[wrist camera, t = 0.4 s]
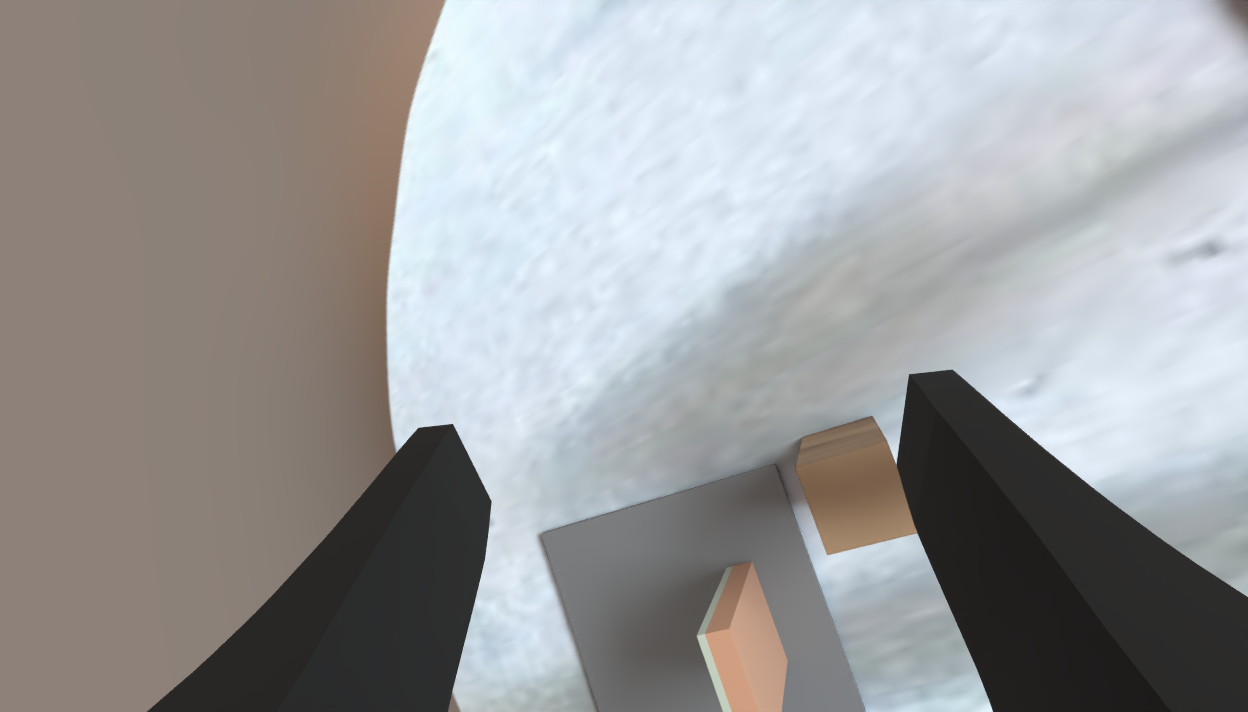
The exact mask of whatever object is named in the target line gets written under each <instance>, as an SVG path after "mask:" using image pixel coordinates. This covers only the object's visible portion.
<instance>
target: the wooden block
mask: <svg viewBox="0 0 1248 712" xmlns="http://www.w3.org/2000/svg"><path fill="white" fill-rule="evenodd" d="M795 469H796V472H797V474H798V477H799V480H800V483H801V485H802V488H803V491H804V493H805V496H806V499H807V502H808V504H809V507H810V510H811V512H812V515H813V518H814V521H815V523H816V526H817V529H818V531H819V534H820V537H821V540H822V542H823V545H824V548H825V550H826V553H827V555H830V554H834V553H838V552H843V551H847V550H851V549H855V548H859V547H863V546H867V545H871V544H875V543H879V542H883V541H887V540H892V539H896V538H900V537H904V536H908V535H912V534H916V533H917V531H916V528H915V526H914V523H913V519H912V516H911V513H910V510H909V506H908V503H907V500H906V497H905V493H904V490H903V486H902V483H901V479H900V476H899V472H898V469H897V466H896V463H895V460H894V458H893V455H892V453H891V450H890V447H889V445H888V442H887V440H886V438H885V437H884V435H883V433H882V431H881V430H880V428H879V426H878V425H877V423H876V421H875V420H874V418H873V416H870V417H867V418H864V419H860V420H857V421H854V422H851V423H847V424H844V425H841V426H838V427H834V428H831V429H828V430H825V431H821V432H818V433H815V434H811V435H808V436H805V437H803V438H802V442H801V446H800V450H799V454H798V458H797V462H796V466H795Z"/></svg>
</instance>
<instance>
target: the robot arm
mask: <svg viewBox="0 0 1248 712" xmlns="http://www.w3.org/2000/svg"><path fill="white" fill-rule="evenodd" d="M897 469H898V472H899V476H900V479H901V483H902V486H903V490H904V493H905V497H906V500H907V503H908V506H909V510H910V513H911V516H912V519H913V523H914V526H915V528H916V531H917V533H918V535H919V538H920V540H921V542H922V545H923V547H924V549H925V552H926V554H927V556H928V559H929V561H930V563H931V566H932V568H933V570H934V572H935V575H936V577H937V579H938V582H939V584H940V586H941V588H942V591H943V593H944V595H945V598H946V600H947V602H948V604H949V607H950V609H951V611H952V613H953V616H954V618H955V620H956V623H957V625H958V627H959V629H960V632H961V634H962V636H963V638H964V641H965V643H966V645H967V648H968V650H969V652H970V654H971V657H972V659H973V661H974V663H975V666H976V668H977V670H978V673H979V676H980V678H981V681H982V683H983V686H984V688H985V691H986V693H987V696H988V698H989V701H990V704H991V707H992V710H993V712H1248V597H1247V596H1245V595H1244V594H1242V593H1241V592H1239V591H1237V590H1236V589H1234V588H1233V587H1231V586H1230V585H1228V584H1227V583H1225V582H1224V581H1222V580H1221V579H1219V578H1218V577H1216V576H1215V575H1213V574H1211V573H1210V572H1208V571H1207V570H1205V569H1204V568H1202V567H1201V566H1199V565H1198V564H1196V563H1195V562H1193V561H1192V560H1190V559H1189V558H1187V557H1186V556H1185V555H1183V554H1182V553H1180V552H1179V551H1177V550H1176V549H1174V548H1173V547H1172V546H1170V545H1169V544H1167V543H1166V542H1164V541H1163V540H1162V539H1160V538H1159V537H1157V536H1156V535H1155V534H1153V533H1152V532H1151V531H1149V530H1148V529H1147V528H1145V527H1144V526H1143V525H1141V524H1140V523H1139V522H1137V521H1136V520H1134V519H1133V518H1132V517H1130V516H1129V515H1128V514H1126V513H1125V512H1124V511H1122V510H1121V509H1120V508H1118V507H1117V506H1116V505H1114V504H1113V503H1112V502H1110V501H1109V500H1108V499H1107V498H1105V497H1104V496H1103V495H1101V494H1100V493H1099V492H1097V491H1096V490H1095V489H1094V488H1092V487H1091V486H1090V485H1088V484H1087V483H1086V482H1085V481H1084V480H1082V479H1081V478H1080V477H1079V476H1077V475H1076V474H1075V473H1074V472H1072V471H1071V470H1070V469H1069V468H1067V467H1066V466H1065V465H1064V464H1062V463H1061V462H1060V461H1059V460H1058V459H1056V458H1055V457H1054V456H1053V455H1051V454H1050V453H1049V452H1048V451H1046V450H1045V449H1044V448H1043V447H1042V446H1040V445H1039V444H1038V443H1037V442H1036V441H1034V440H1033V439H1032V438H1031V437H1030V436H1029V435H1027V434H1026V433H1025V432H1024V431H1023V430H1022V429H1020V428H1019V427H1018V426H1017V425H1016V424H1015V423H1013V422H1012V421H1011V420H1010V419H1009V418H1008V417H1006V416H1005V415H1004V414H1003V413H1002V412H1001V411H1000V410H998V409H997V408H996V407H995V406H994V405H993V404H992V403H990V402H989V401H988V400H987V399H986V398H985V397H984V396H982V395H981V394H980V393H979V392H978V391H977V390H976V389H974V388H973V387H972V386H971V385H970V384H969V383H968V382H966V381H965V380H964V379H963V378H962V377H961V376H959V375H958V374H957V373H956V372H955V371H953V370H945V371H936V372H927V373H917V374H909V379H908V386H907V393H906V400H905V407H904V415H903V422H902V429H901V436H900V443H899V451H898V458H897ZM491 502H492V501H491V499H490V497H489V495H488V493H487V491H486V489H485V487H484V485H483V483H482V481H481V479H480V477H479V475H478V473H477V471H476V469H475V467H474V465H473V463H472V461H471V459H470V457H469V455H468V453H467V451H466V449H465V447H464V445H463V443H462V441H461V439H460V437H459V435H458V433H457V431H456V429H455V427H454V425H453V424H449V425H440V426H431V427H422V428H418V429H417V430H416V431H415V432H414V434H413V435H412V436H411V437H410V438H409V439H408V440H407V442H406V443H405V444H404V445H403V446H402V447H401V449H400V450H399V451H398V452H397V453H396V455H395V456H394V457H393V458H392V460H391V461H390V462H389V463H388V464H387V465H386V467H385V468H384V469H383V470H382V471H381V473H380V474H379V475H378V476H377V478H376V479H375V480H374V481H373V482H372V484H371V485H370V486H369V487H368V488H367V490H366V491H365V492H364V493H363V494H362V496H361V497H360V498H359V499H358V500H357V501H356V503H355V504H354V505H353V506H352V507H351V509H350V510H349V511H348V512H347V513H346V514H345V515H344V517H343V518H342V519H341V520H340V521H339V523H338V524H337V525H336V526H335V527H334V529H333V530H332V531H331V532H330V533H329V534H328V535H327V537H326V538H325V539H324V540H323V541H322V542H321V543H320V544H319V545H318V546H317V548H316V549H315V550H314V551H313V552H312V553H311V554H310V555H309V556H308V557H307V558H306V559H305V561H304V562H303V563H302V564H301V565H300V566H299V567H298V568H297V569H296V570H295V571H294V573H293V574H292V575H291V576H290V577H289V578H288V579H287V580H286V581H285V582H284V583H283V585H282V586H281V587H280V588H279V589H278V590H277V591H276V592H275V593H274V594H273V595H272V596H271V598H269V599H268V600H267V602H266V603H265V604H264V605H263V606H262V607H261V608H260V609H259V610H258V611H257V612H256V613H255V614H254V615H253V616H252V617H251V618H250V619H249V620H248V621H247V622H246V623H245V624H244V625H243V626H242V627H240V629H238V631H236V632H235V633H234V634H233V635H232V636H231V637H230V638H229V639H228V640H227V641H226V642H225V643H224V644H223V645H222V646H220V647H219V648H218V649H217V651H215V652H214V653H213V654H212V655H211V656H210V657H209V658H208V659H207V660H206V661H205V662H203V663H202V664H201V665H200V666H199V667H198V668H197V669H196V670H195V671H194V672H193V673H191V674H190V675H189V676H188V677H187V678H186V679H184V680H183V681H182V682H181V683H180V684H179V685H177V686H176V687H175V688H174V689H173V690H172V691H170V692H169V693H168V694H167V695H166V696H165V697H163V699H161V700H160V701H159V702H158V703H157V704H155V705H154V706H153V707H152V708H151V709H150V710H149V711H147V712H448V709H449V704H450V699H451V694H452V690H453V686H454V682H455V678H456V674H457V670H458V666H459V662H460V658H461V654H462V650H463V646H464V642H465V638H466V634H467V631H468V627H469V623H470V619H471V615H472V611H473V607H474V603H475V599H476V594H477V590H478V586H479V582H480V578H481V574H482V569H483V565H484V561H485V554H486V547H487V539H488V531H489V521H490V512H491Z"/></svg>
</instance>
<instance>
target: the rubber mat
mask: <svg viewBox="0 0 1248 712" xmlns="http://www.w3.org/2000/svg"><path fill="white" fill-rule="evenodd" d="M541 537H542V540H543V543H544V546H545V549H546V552H547V555H548V558H549V561H550V565H551V568H552V571H553V574H554V577H555V580H556V583H557V586H558V589H559V592H560V595H561V598H562V601H563V604H564V607H565V610H566V613H567V616H568V619H569V622H570V625H571V628H572V631H573V634H574V637H575V640H576V643H577V646H578V649H579V652H580V655H581V658H582V661H583V664H584V667H585V670H586V673H587V676H588V679H589V682H590V685H591V689H592V692H593V695H594V698H595V701H596V704H597V707H598V710H599V712H723V710H722V707H721V705H720V702H719V699H718V696H717V693H716V690H715V687H714V684H713V682H712V679H711V676H710V673H709V670H708V667H707V664H706V661H705V658H704V656H703V653H702V650H701V647H700V644H699V641H698V638H697V634H698V632H699V629H700V627H701V625H702V623H703V620H704V618H705V616H706V613H707V611H708V609H709V607H710V604H711V602H712V600H713V597H714V595H715V593H716V591H717V588H718V586H719V584H720V582H721V579H722V577H723V575H724V572H725V570H726V568H727V567H731V566H735V565H739V564H743V563H747V562H751V561H752V562H753V565H754V568H755V571H756V574H757V576H758V579H759V582H760V585H761V588H762V590H763V593H764V596H765V599H766V602H767V604H768V607H769V610H770V613H771V616H772V618H773V621H774V624H775V627H776V630H777V632H778V635H779V638H780V641H781V644H782V646H783V649H784V652H785V655H786V657H787V660H788V663H787V671H786V679H785V687H784V695H783V703H782V712H866V710H865V707H864V705H863V702H862V699H861V697H860V694H859V691H858V688H857V686H856V683H855V680H854V677H853V675H852V672H851V669H850V666H849V664H848V661H847V658H846V656H845V653H844V650H843V647H842V645H841V642H840V639H839V636H838V634H837V631H836V628H835V625H834V623H833V620H832V617H831V615H830V612H829V609H828V606H827V604H826V601H825V598H824V595H823V593H822V590H821V587H820V584H819V582H818V579H817V576H816V573H815V571H814V568H813V565H812V563H811V560H810V557H809V554H808V552H807V549H806V546H805V543H804V541H803V538H802V535H801V532H800V530H799V527H798V524H797V522H796V519H795V516H794V513H793V511H792V508H791V505H790V502H789V500H788V497H787V494H786V491H785V489H784V486H783V483H782V481H781V478H780V475H779V472H778V470H777V467H776V464H772V465H769V466H766V467H762V468H759V469H756V470H752V471H749V472H746V473H742V474H739V475H735V476H732V477H729V478H725V479H722V480H719V481H715V482H712V483H708V484H705V485H702V486H698V487H695V488H692V489H688V490H685V491H681V492H678V493H675V494H671V495H668V496H665V497H661V498H658V499H655V500H651V501H648V502H644V503H641V504H638V505H634V506H631V507H628V508H624V509H621V510H617V511H614V512H611V513H607V514H604V515H601V516H597V517H594V518H591V519H587V520H584V521H580V522H577V523H574V524H570V525H567V526H564V527H560V528H557V529H553V530H550V531H547V532H543V533H542V534H541Z"/></svg>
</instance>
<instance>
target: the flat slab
mask: <svg viewBox="0 0 1248 712" xmlns="http://www.w3.org/2000/svg"><path fill="white" fill-rule="evenodd" d="M697 638H698V641H699V644H700V647H701V650H702V653H703V656H704V658H705V661H706V664H707V667H708V670H709V673H710V676H711V679H712V682H713V684H714V687H715V690H716V693H717V696H718V699H719V702H720V705H721V707H722V710H723V712H782V703H783V695H784V687H785V679H786V671H787V663H788V660H787V657H786V655H785V652H784V649H783V646H782V644H781V641H780V638H779V635H778V632H777V630H776V627H775V624H774V621H773V618H772V616H771V613H770V610H769V607H768V604H767V602H766V599H765V596H764V593H763V590H762V588H761V585H760V582H759V579H758V576H757V574H756V571H755V568H754V565H753V562H752V561H751V562H747V563H743V564H739V565H735V566H731V567H727V568H726V570H725V572H724V575H723V577H722V579H721V582H720V584H719V586H718V588H717V591H716V593H715V595H714V597H713V600H712V602H711V604H710V607H709V609H708V611H707V613H706V616H705V618H704V620H703V623H702V625H701V627H700V629H699V632H698V634H697Z"/></svg>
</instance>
